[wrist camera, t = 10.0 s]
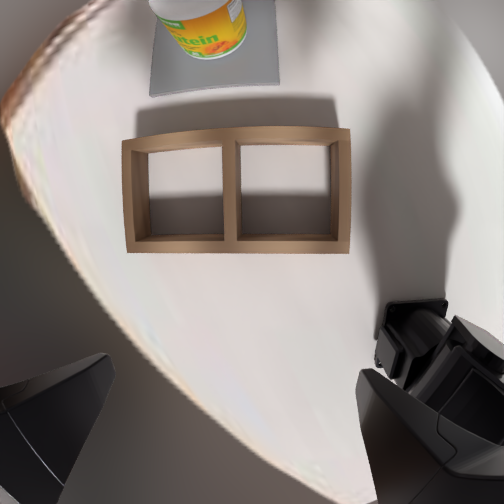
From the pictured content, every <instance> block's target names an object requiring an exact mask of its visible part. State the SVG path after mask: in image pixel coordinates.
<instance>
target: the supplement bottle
mask: <svg viewBox="0 0 504 504" xmlns="http://www.w3.org/2000/svg"><path fill="white" fill-rule="evenodd" d="M148 2H149V5H150V7H151V9H152V10H153V12H154V13H155V15H156V16H157V17H158V18H159V19H160V21H161V22H162V23H163V24H164V25H165V27H166V28H167V30H168V31H169V32H170V33H171V35H172V36H173V37H174V38H175V40H176V41H177V42H178V44H179V45H180V47H181V48H182V49H183V50H184V51H185V52H186V53H187V54H188V55H190V56H192V57H194V58H198V59H205V60H209V59H217V58H221V57H224V56H226V55H228V54H230V53H232V52H233V51H235V50H236V49H237V48H238V47H239V46H240V45H241V44H242V42H243V41H244V39H245V37H246V34H247V23H246V18H245V14H244V9H243V5H242V1H241V0H148Z"/></svg>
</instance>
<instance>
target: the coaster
mask: <svg viewBox="0 0 504 504" xmlns="http://www.w3.org/2000/svg"><path fill="white" fill-rule="evenodd" d="M241 1H242V5H243V9H244V14H245V18H246V23H247V34H246V37H245V39H244V41H243V42H242V44H241V45H240V46H239V47H238V48H237V49H236V50H235V51H233V52H232V53H230V54H228V55H226V56H224V57H221V58H217V59H209V60H205V59H198V58H194V57H192V56H190V55H188V54H187V53H186V52H185V51H184V50H183V49H182V48H181V47H180V45H179V44H178V42H177V41H176V40H175V38H174V37H173V36H172V35H171V33H170V32H169V31H168V30H167V28H166V27H165V25H164V24H163V23H162V22H161V21H160V19H159V18H157V24H156V31H155V39H154V47H153V56H152V66H151V77H150V91H149V96H151V97H157V96H162V95H168V94H174V93H181V92H188V91H195V90H204V89H213V88H224V87H238V86H259V85H280V80H279V60H278V42H277V26H276V12H275V0H241Z"/></svg>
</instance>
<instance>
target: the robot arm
mask: <svg viewBox="0 0 504 504" xmlns="http://www.w3.org/2000/svg"><path fill="white" fill-rule="evenodd" d="M443 303H444V305H443V306H442V304H443ZM391 307H394V308H393V309H392V310H390V308H391ZM447 308H448V301H447V300H446V299H444V298H442V299H429V300H415V301H399V302H390V303H388V304H387V306H386V309H385V315H384V320H383V326H381V328H380V330H379V336H378V340H377V345H376V350H375V353H376V359H375V365H376V367H377V368H384V370H385V372H386V374H387V376H388V378H389V379H390V380H392V379H394V380H395V382H396V384H397V385H396V384H394V383H393V382H391V381H390V380H388V379H387V378H385V377H384V376H383V375H381V374H380V373H378V372H377V371H375V370H374V369H372V368H369V369H362V370H360V372H359V376H358V381H357V385H356V399H357V406H358V413H359V421H360V428H361V432H362V436H363V440H364V444H365V448H366V452H367V456H368V460H369V464H370V468H371V473H372V477H373V481H374V486H375V490H376V495H377V499H378V504H504V344H503V343H501V342H500V341H499V340H498V339H496V338H495V337H494V336H493V335H491V334H490V333H489V332H487V331H486V330H484V329H482V328H480V327H478V326H476V325H474V324H472V323H470V322H468V321H467V320H465V319H463V318H461V317H459V316H457V315H455V316H454V317H453V319H452V321H451V322H452V323H450V322H449V321H448V320H447V319H446V318H445V316H446V312H447ZM379 362H381V363H380V364H379ZM115 375H116V372H115V369H114V365H113V362H112V359H111V356H110V355H109V354H105V353H98V354H95V355H93V356H90V357H88V358H85V359H82V360H80V361H77V362H74V363H72V364H69V365H66V366H64V367H61V368H58V369H55V370H53V371H50V372H47V373H44V374H41V375H39V376H36V377H33V378H30V379H27V380H24V381H21V382H18V383H15V384H12V385H8V386H5V387H0V504H57V502H58V500H59V498H60V495H61V493H62V491H63V488H64V485H65V484H66V481H67V479H68V477H69V475H70V473H71V470H72V468H73V466H74V464H75V462H76V460H77V458H78V456H79V454H80V451H81V450H82V448H83V446H84V443H85V442H86V440H87V438H88V435H89V433H90V431H91V430H92V428H93V426H94V424H95V422H96V420H97V418H98V416H99V414H100V412H101V410H102V408H103V406H104V404H105V401H106V399H107V396H108V393H109V391H110V389H111V386H112V384H113V381H114V379H115Z"/></svg>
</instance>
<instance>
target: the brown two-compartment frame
mask: <svg viewBox="0 0 504 504" xmlns="http://www.w3.org/2000/svg"><path fill="white" fill-rule="evenodd" d="M242 145H319V146H330V156H331V220H330V234H242V208H241V153H240V146H242ZM221 146H222V163H223V208H224V234H172V235H151V224H150V207H149V183H148V153H155V152H164V151H172V150H182V149H193V148H206V147H221ZM122 195H123V213H124V226H125V238H126V248H127V253H284V254H349V248H350V228H351V140H350V129H344V128H329V127H307V126H254V127H231V128H216V129H203V130H193V131H183V132H175V133H167V134H160V135H153V136H146V137H140V138H134V139H129V140H123V141H122Z"/></svg>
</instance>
